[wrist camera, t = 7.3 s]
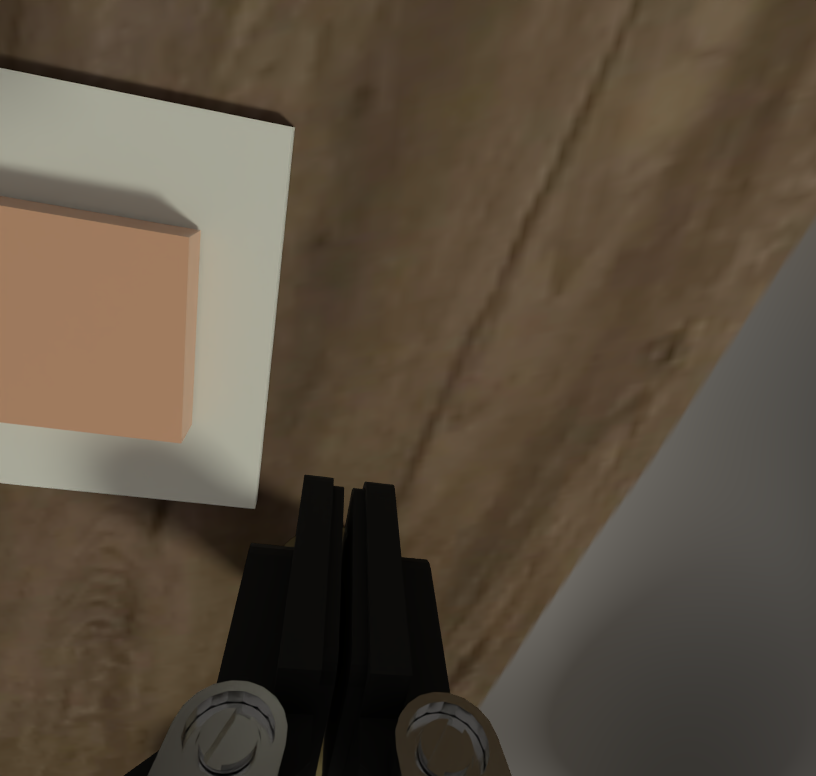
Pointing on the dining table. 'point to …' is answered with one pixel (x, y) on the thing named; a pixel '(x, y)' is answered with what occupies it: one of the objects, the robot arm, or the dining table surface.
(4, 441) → the mat
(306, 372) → the dining table surface
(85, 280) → the tile
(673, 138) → the dining table surface
